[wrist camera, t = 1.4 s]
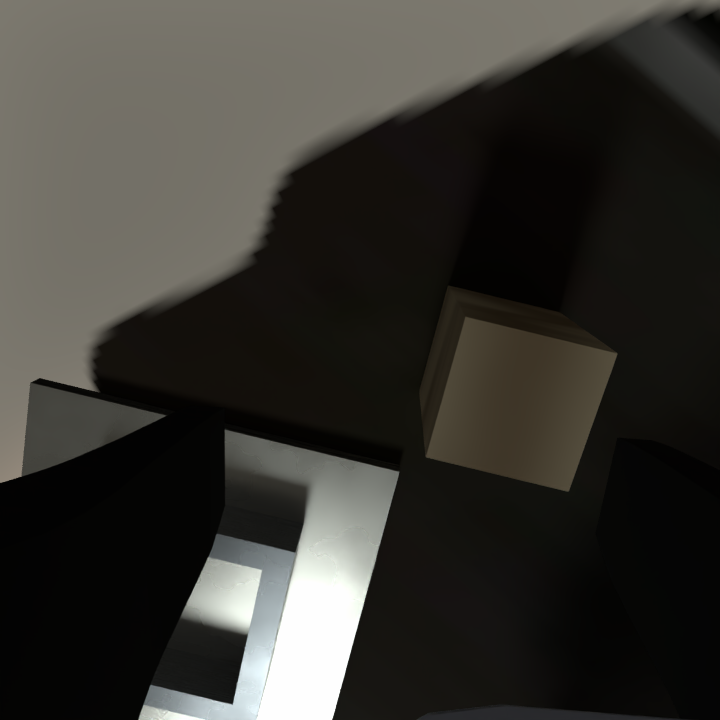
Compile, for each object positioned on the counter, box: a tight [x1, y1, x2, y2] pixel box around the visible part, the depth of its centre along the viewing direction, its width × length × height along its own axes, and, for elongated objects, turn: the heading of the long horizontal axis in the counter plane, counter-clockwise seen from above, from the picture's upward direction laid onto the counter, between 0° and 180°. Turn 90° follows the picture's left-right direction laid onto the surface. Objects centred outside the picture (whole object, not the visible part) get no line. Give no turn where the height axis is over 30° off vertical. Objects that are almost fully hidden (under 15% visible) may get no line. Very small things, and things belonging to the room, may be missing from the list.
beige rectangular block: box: [419, 285, 618, 492], centre depth 19 cm, size 4×4×6 cm
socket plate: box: [22, 378, 399, 720], centre depth 24 cm, size 14×14×3 cm
